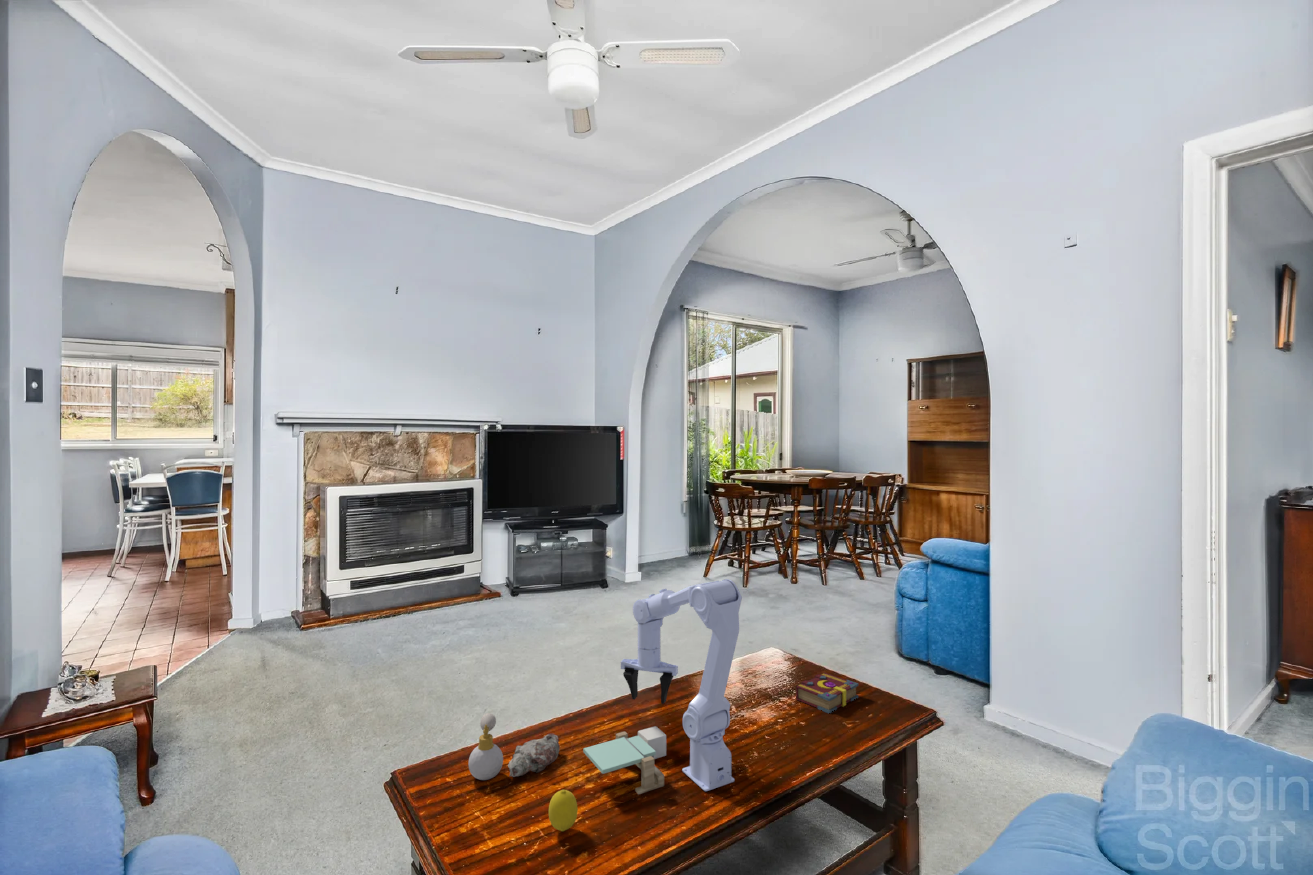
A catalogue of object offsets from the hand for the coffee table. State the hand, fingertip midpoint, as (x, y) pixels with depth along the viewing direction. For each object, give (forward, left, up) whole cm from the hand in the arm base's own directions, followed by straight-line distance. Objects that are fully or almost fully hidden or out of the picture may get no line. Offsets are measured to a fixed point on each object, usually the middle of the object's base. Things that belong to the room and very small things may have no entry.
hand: (649, 699), depth 156 cm
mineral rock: (+2, +29, -10) cm, 31 cm away
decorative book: (-6, -56, -10) cm, 57 cm away
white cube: (-7, +3, -10) cm, 12 cm away
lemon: (-23, +32, -10) cm, 40 cm away
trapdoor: (-13, +14, -5) cm, 20 cm away
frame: (-13, +11, -10) cm, 19 cm away
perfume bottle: (+4, +40, -10) cm, 41 cm away
